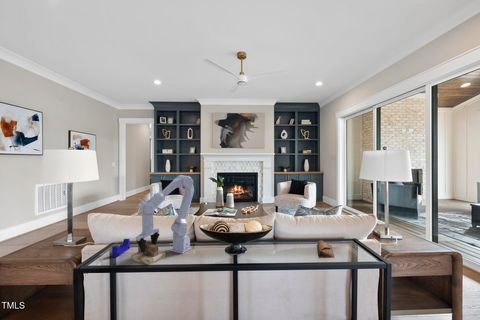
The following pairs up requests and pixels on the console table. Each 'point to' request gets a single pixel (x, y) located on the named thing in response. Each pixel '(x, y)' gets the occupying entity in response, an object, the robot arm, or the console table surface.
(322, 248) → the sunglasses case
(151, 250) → the walnut bar
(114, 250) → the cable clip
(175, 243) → the robot arm
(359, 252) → the console table surface
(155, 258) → the cutout board
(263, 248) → the console table surface
